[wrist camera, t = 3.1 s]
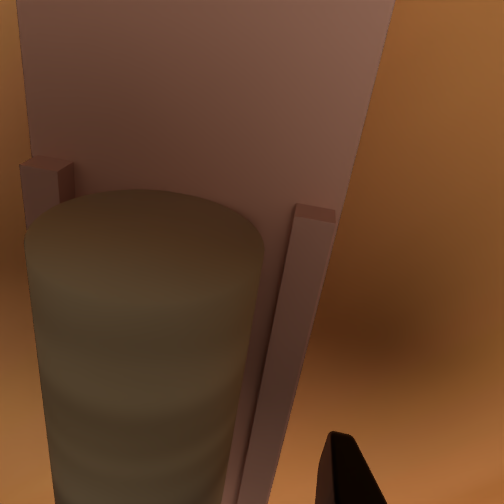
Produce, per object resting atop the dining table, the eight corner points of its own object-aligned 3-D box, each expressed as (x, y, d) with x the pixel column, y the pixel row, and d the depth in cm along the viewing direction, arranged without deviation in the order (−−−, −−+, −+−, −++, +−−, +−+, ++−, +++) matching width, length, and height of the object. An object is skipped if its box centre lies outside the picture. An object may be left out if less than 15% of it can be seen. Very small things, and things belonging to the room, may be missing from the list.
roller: (222, 511, 11) (189, 666, 9) (103, 483, 11) (35, 628, 9) (275, 210, 7) (246, 327, 5) (92, 176, 7) (-37, 271, 5)
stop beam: (260, 476, 17) (239, 624, 13) (125, 446, 17) (64, 581, 13) (383, -56, 9) (427, -102, 5) (127, -93, 9) (-27, -166, 5)
